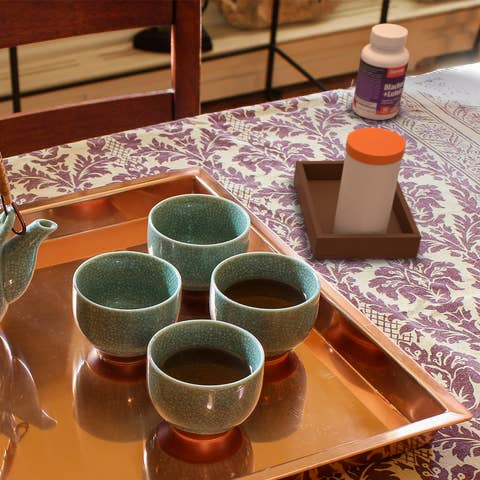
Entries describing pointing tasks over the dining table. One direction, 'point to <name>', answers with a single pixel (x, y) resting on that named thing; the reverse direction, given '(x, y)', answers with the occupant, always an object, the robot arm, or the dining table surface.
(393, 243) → the tray
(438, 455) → the dining table surface
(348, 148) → the orange-capped white bottle
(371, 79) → the pill bottle
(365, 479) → the dining table surface
